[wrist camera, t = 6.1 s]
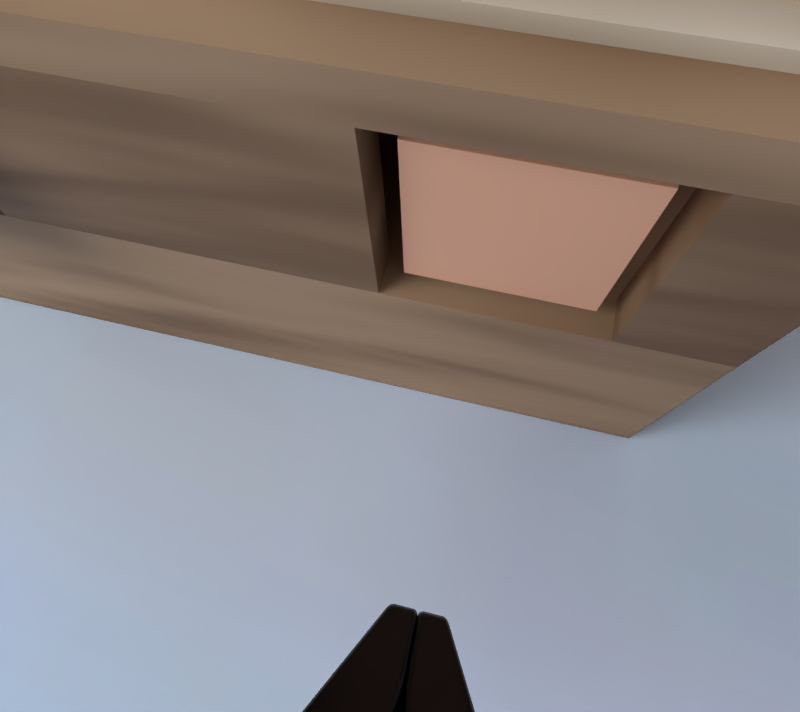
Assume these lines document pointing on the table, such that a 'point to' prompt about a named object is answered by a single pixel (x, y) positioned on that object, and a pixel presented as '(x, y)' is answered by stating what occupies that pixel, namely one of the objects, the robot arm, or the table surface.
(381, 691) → the robot arm
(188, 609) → the table surface
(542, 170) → the salmon pink cube
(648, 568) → the table surface
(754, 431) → the table surface
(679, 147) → the wooden stand
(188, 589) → the table surface
